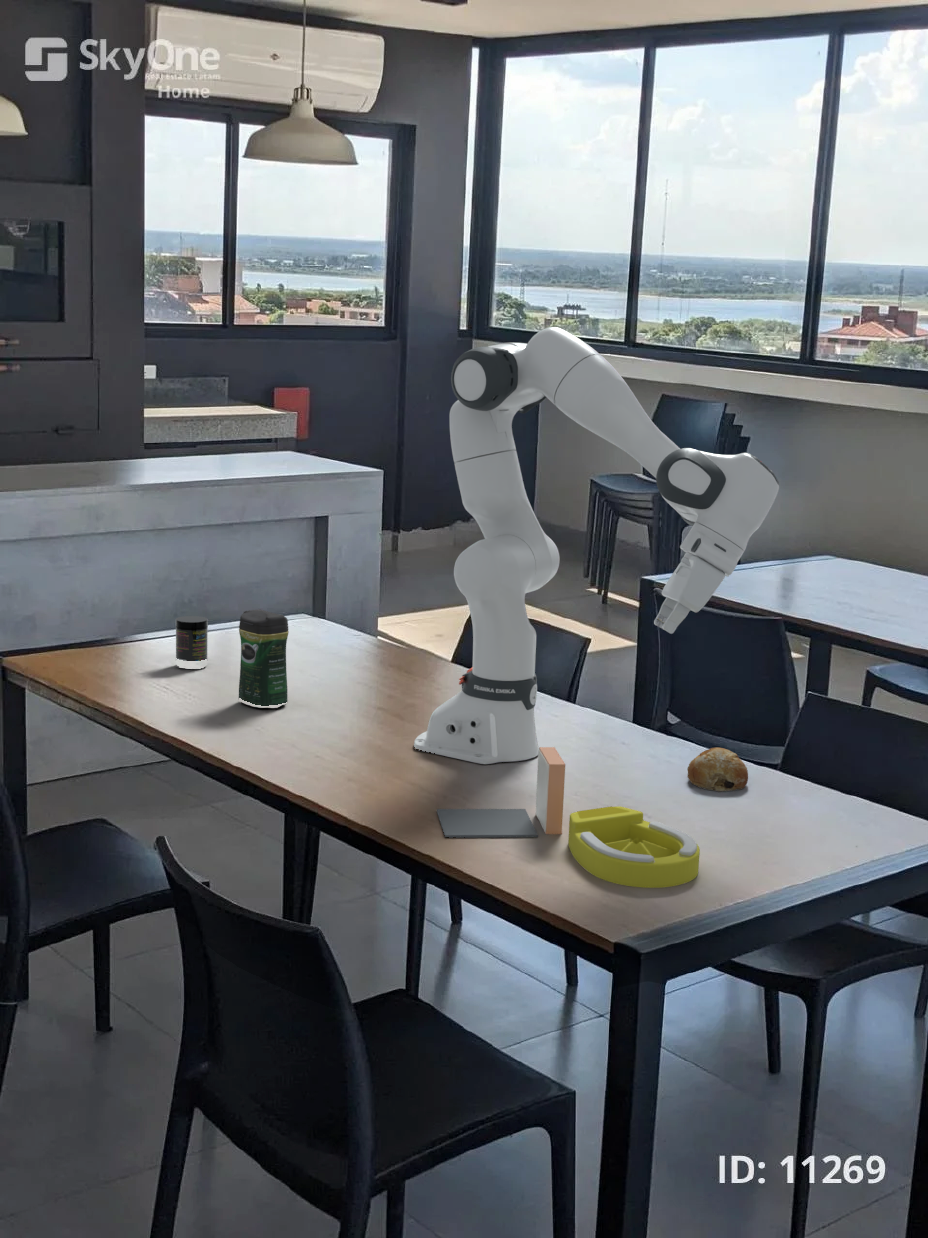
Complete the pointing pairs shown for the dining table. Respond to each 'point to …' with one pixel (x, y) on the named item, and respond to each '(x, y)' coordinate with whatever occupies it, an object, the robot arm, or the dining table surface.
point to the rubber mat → (486, 823)
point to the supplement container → (191, 638)
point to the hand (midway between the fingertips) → (662, 628)
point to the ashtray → (632, 848)
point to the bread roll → (718, 770)
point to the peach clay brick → (550, 790)
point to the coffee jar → (263, 657)
